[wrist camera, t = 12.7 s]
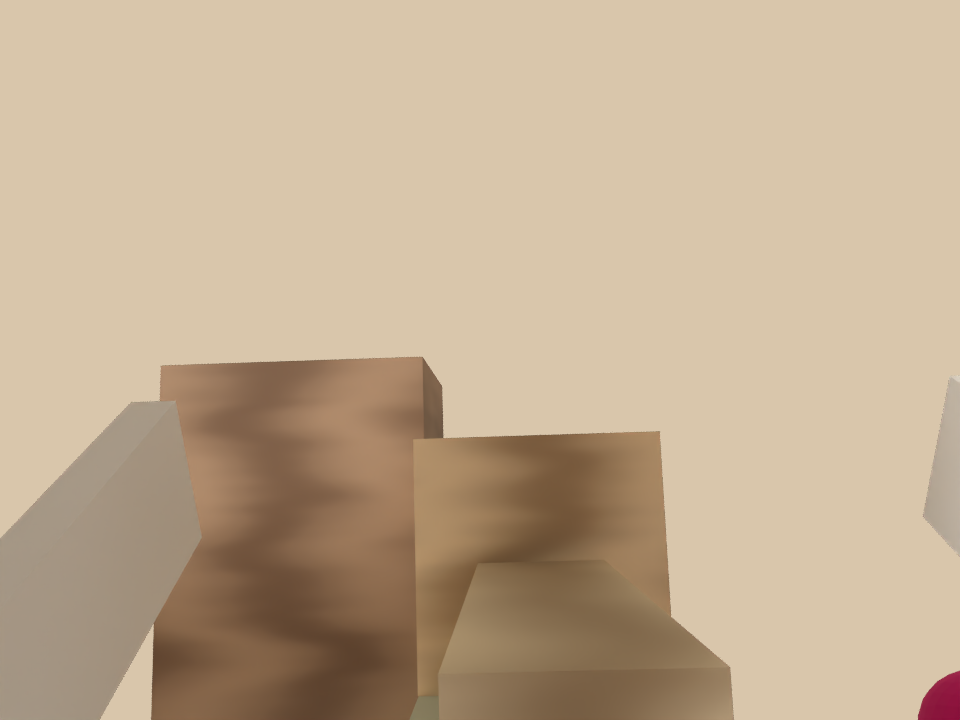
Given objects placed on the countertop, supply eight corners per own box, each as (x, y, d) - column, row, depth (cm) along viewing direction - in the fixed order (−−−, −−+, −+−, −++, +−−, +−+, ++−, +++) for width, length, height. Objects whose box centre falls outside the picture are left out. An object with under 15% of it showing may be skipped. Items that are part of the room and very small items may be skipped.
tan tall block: (293, 994, 9) (295, 390, 10) (433, 659, 27) (428, 445, 28) (909, 987, 9) (849, 371, 10) (647, 654, 27) (635, 439, 28)
